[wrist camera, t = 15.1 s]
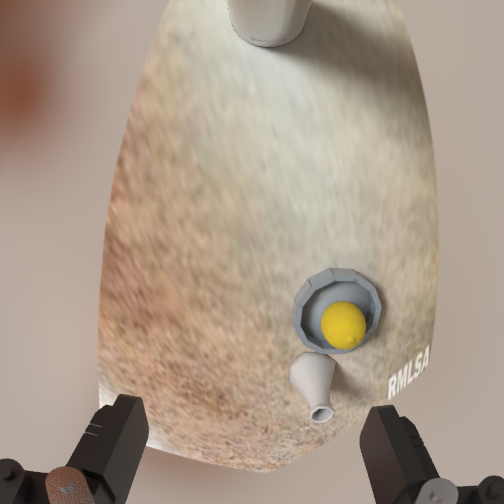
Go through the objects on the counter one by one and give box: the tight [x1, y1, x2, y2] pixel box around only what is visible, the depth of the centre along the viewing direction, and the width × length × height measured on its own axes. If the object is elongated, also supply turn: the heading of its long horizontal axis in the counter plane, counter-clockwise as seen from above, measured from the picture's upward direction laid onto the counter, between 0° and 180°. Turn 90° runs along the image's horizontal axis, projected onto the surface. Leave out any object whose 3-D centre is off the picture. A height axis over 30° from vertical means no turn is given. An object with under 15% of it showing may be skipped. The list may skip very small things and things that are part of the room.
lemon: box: [321, 301, 366, 350], centre depth 37 cm, size 6×6×8 cm
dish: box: [292, 268, 382, 354], centre depth 40 cm, size 12×12×2 cm
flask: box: [288, 353, 336, 423], centre depth 39 cm, size 7×7×10 cm
